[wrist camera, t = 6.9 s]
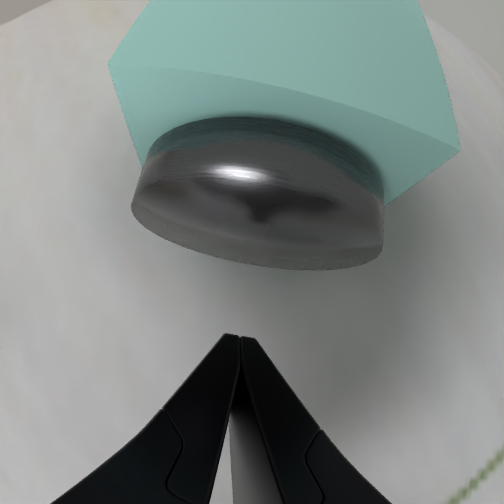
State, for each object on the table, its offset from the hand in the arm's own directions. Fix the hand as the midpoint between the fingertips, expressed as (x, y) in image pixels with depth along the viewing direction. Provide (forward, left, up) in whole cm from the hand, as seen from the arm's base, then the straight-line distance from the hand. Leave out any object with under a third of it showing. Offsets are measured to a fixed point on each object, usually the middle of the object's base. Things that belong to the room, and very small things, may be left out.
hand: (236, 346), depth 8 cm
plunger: (+8, -5, -4) cm, 10 cm away
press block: (+9, -6, -7) cm, 13 cm away
